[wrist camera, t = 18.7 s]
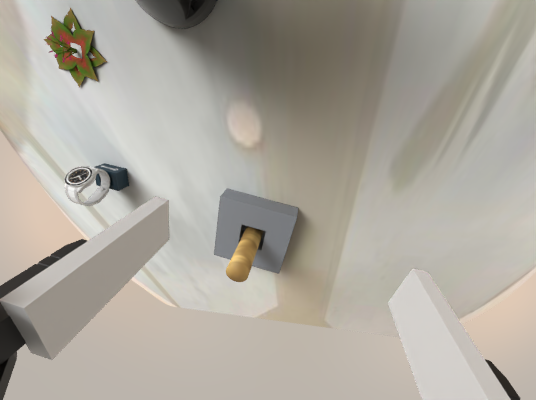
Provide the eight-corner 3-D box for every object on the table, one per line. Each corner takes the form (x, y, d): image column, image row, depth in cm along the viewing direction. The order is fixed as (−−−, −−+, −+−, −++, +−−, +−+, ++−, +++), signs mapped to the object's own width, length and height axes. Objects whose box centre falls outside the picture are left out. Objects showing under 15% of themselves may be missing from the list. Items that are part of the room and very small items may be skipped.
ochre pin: (245, 233, 51) (224, 278, 39) (248, 219, 49) (227, 261, 37) (262, 237, 51) (246, 284, 38) (265, 224, 49) (249, 268, 36)
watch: (125, 160, 49) (78, 177, 39) (129, 192, 52) (88, 214, 43) (102, 155, 49) (51, 170, 39) (108, 186, 53) (63, 207, 43)
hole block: (220, 244, 55) (213, 254, 51) (227, 188, 47) (220, 196, 43) (281, 261, 53) (279, 273, 50) (298, 207, 46) (297, 217, 42)
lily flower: (37, 36, 40) (7, 30, 36) (72, -8, 36) (42, -20, 32) (84, 98, 44) (61, 99, 40) (120, 66, 40) (99, 62, 36)
